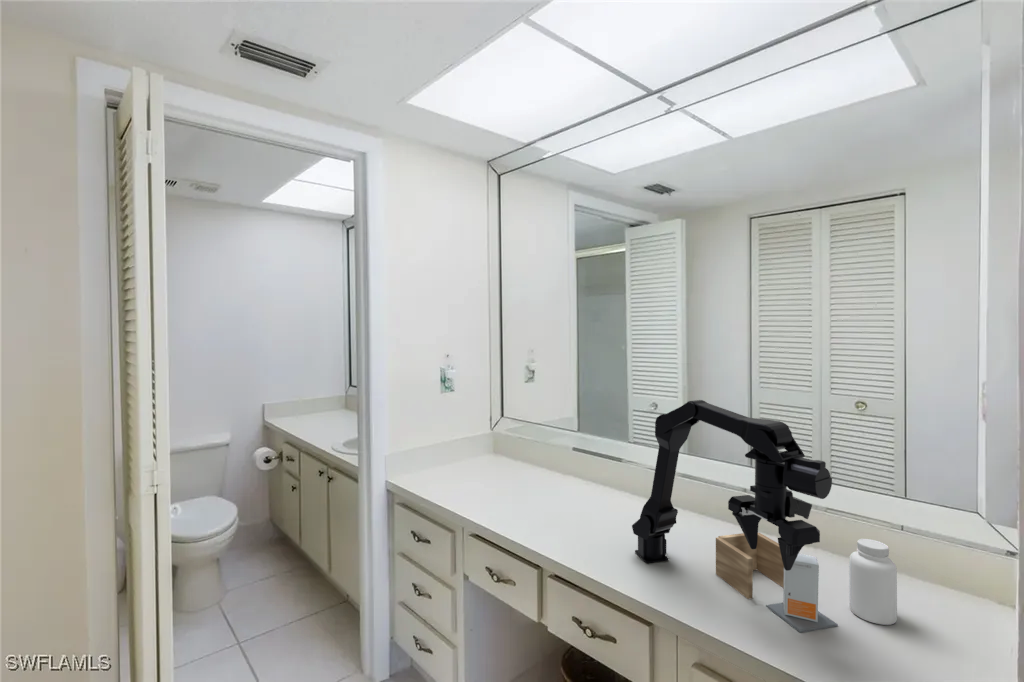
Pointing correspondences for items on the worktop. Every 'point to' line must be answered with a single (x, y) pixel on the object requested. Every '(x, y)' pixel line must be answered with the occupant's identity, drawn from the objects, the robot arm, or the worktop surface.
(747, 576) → the oak bay
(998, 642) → the worktop surface
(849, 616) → the worktop surface
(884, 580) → the pill bottle
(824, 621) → the slate pad
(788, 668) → the worktop surface
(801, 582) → the skincare box
